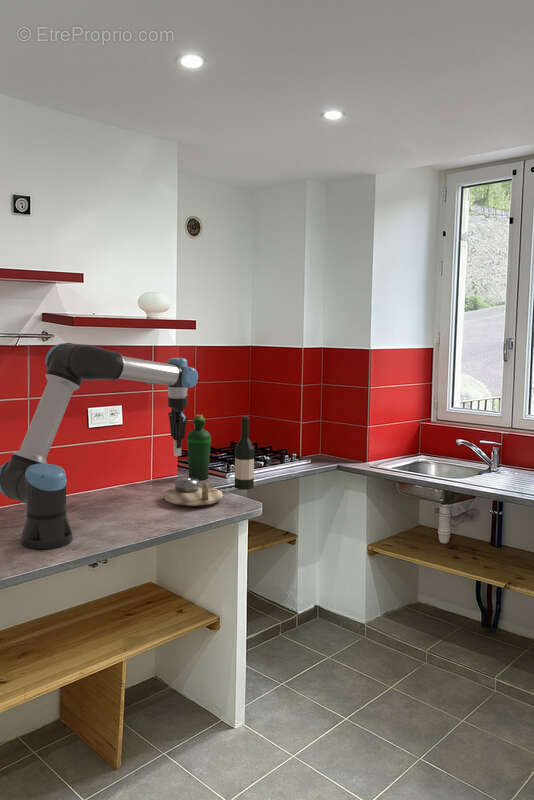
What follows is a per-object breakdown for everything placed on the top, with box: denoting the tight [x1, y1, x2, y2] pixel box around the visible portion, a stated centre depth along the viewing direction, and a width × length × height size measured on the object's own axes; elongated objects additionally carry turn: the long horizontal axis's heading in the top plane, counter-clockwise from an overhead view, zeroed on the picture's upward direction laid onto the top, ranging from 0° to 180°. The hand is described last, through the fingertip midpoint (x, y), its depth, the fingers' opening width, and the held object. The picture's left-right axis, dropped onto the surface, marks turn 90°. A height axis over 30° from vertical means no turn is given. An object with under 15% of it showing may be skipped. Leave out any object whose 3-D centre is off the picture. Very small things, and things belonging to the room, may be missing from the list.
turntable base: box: [175, 503, 214, 508], centre depth 251 cm, size 16×16×1 cm
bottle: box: [186, 414, 212, 481], centre depth 285 cm, size 11×11×28 cm
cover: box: [174, 476, 199, 493], centre depth 255 cm, size 9×9×5 cm
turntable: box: [164, 482, 223, 506], centre depth 250 cm, size 22×22×8 cm
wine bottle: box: [234, 415, 255, 491], centre depth 272 cm, size 8×8×30 cm
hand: (177, 455), depth 262 cm, fingers closed
